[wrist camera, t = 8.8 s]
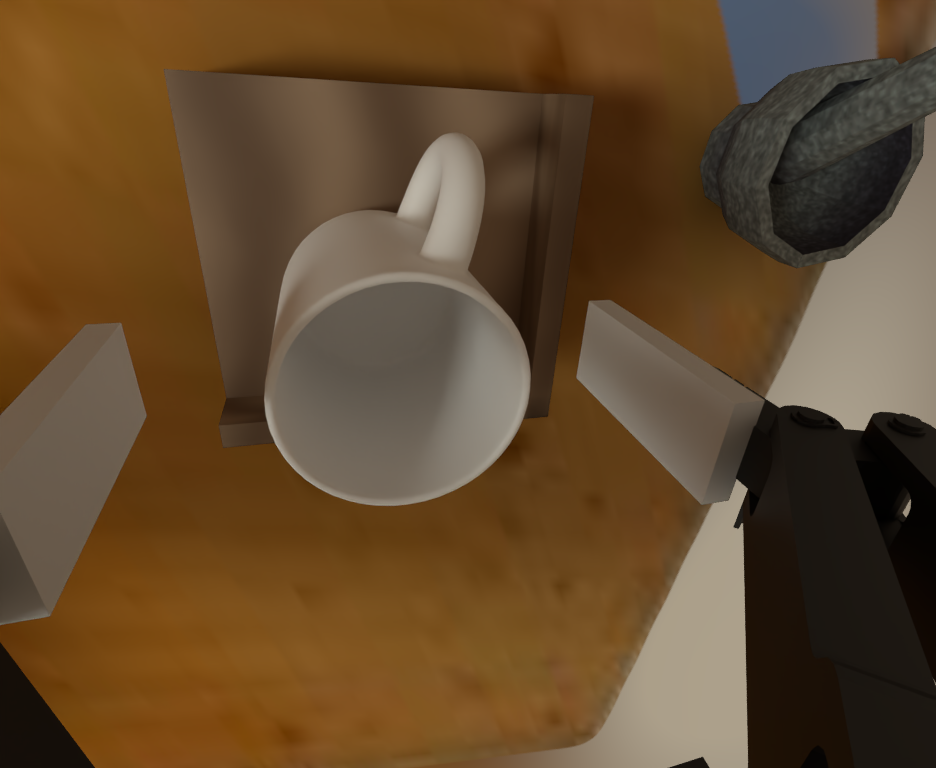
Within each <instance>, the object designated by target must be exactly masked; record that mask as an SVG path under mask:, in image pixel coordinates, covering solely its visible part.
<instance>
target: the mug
mask: <svg viewBox="0 0 936 768" xmlns="http://www.w3.org/2000/svg"><path fill="white" fill-rule="evenodd" d="M484 198H485V174H484V166H483V160H482V156H481V153H480V151H479V150H478V148H477V146H476V145H475V143H474V142H473V140H471V139H470V138H469V137H467V136H466V135H464V134H461V133H456V132H453V133H448V134H444V135H442V136H440V137H439V138H438V139H436V140H435V141H434V142H433V143H432V144H431V145H430V146H429V147H428V149H427V150H426V152H425V153H424V155H423V156H422V158H421V160H420V162H419V163H418V165H417V167H416V169H415V172H414V174H413V176H412V178H411V180H410V183H409V185H408V188H407V190H406V193H405V195H404V198H403V200H402V203H401V205H400V208H399V210H398V213H393V212H387V211H380V210H362V211H355V212H350V213H345V214H343V215H340V216H337V217H335V218H332V219H331V220H329V221H327V222H325V223H323V224H322V225H320V226H319V227H318V228H316V229H315V230H313V231H312V232H311V233H310V234H309V235H308V236H307V237H306V238H305V239H304V240H303V241H302V242H301V244H300V245H299V246H298V248H297V249H296V250H295V252H294V254H293V255H292V257H291V259H290V261H289V263H288V266H287V268H286V271H285V274H284V277H283V281H282V286H281V291H280V297H279V303H278V309H277V315H276V321H275V327H274V333H273V339H272V345H271V351H270V357H269V363H268V369H267V375H266V381H265V393H264V403H265V414H266V419H267V422H268V426H269V430H270V433H271V435H272V437H273V439H274V442H275V444H276V446H277V447H278V449H279V450H280V452H281V453H282V455H283V457H284V458H285V459H286V461H287V462H288V463H289V464H290V465H291V466H292V467H293V469H294V470H295V471H296V472H297V473H299V474H300V475H301V476H302V477H303V478H304V479H305V480H307V481H308V482H310V483H311V484H313V485H314V486H316V487H317V488H319V489H321V490H323V491H325V492H327V493H329V494H331V495H333V496H336V497H339V498H342V499H344V500H347V501H352V502H356V503H360V504H367V505H376V506H397V505H407V504H413V503H418V502H423V501H427V500H430V499H434V498H437V497H440V496H442V495H445V494H447V493H449V492H452V491H454V490H456V489H458V488H460V487H462V486H463V485H465V484H467V483H469V482H470V481H472V480H473V479H475V478H476V477H477V476H479V475H480V474H481V473H483V472H484V471H485V470H486V469H487V468H489V467H490V466H491V465H492V464H493V463H494V462H495V461H496V460H497V459H498V458H499V457H500V456H501V454H502V453H503V452H504V451H505V449H506V448H507V447H508V445H509V444H510V443H511V441H512V439H513V438H514V436H515V435H516V433H517V431H518V429H519V427H520V425H521V422H522V420H523V418H524V415H525V412H526V408H527V405H528V400H529V394H530V380H531V373H530V364H529V358H528V354H527V350H526V347H525V344H524V342H523V339H522V337H521V335H520V332H519V331H518V329H517V327H516V326H515V324H514V323H513V321H512V319H511V318H510V317H509V316H508V315H507V314H506V312H505V311H504V310H503V309H502V308H501V307H500V306H499V305H498V304H497V302H496V301H495V300H494V299H493V298H492V297H491V296H490V294H489V293H488V292H487V291H486V290H485V289H484V288H483V287H482V286H481V285H480V283H479V282H478V281H477V280H476V279H475V278H474V276H473V275H472V274H471V273H470V272H469V271H468V267H469V264H470V261H471V258H472V255H473V252H474V248H475V245H476V241H477V237H478V233H479V229H480V224H481V220H482V214H483V208H484Z"/></svg>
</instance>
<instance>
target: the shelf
mask: <svg viewBox="0 0 936 768" xmlns="http://www.w3.org/2000/svg"><path fill="white" fill-rule="evenodd" d="M164 73H165V79H166V84H167V89H168V94H169V100H170V105H171V110H172V115H173V120H174V126H175V131H176V136H177V141H178V147H179V152H180V157H181V162H182V168H183V173H184V178H185V183H186V189H187V194H188V199H189V204H190V209H191V215H192V220H193V225H194V230H195V236H196V241H197V246H198V251H199V257H200V262H201V267H202V272H203V277H204V283H205V288H206V293H207V298H208V304H209V309H210V314H211V319H212V325H213V330H214V335H215V340H216V346H217V351H218V356H219V361H220V366H221V372H222V377H223V382H224V387H225V393H226V398H227V399H226V402H225V406H224V409H223V413H222V416H221V420H220V423H219V429H220V434H221V439H222V444H223V448H226V447H237V446H247V445H257V444H268V443H275V442H274V439H273V437H272V435H271V433H270V430H269V426H268V422H267V419H266V414H265V403H264V393H265V381H266V375H267V369H268V363H269V357H270V351H271V345H272V339H273V333H274V327H275V321H276V315H277V309H278V303H279V297H280V291H281V286H282V281H283V277H284V274H285V271H286V268H287V266H288V263H289V261H290V259H291V257H292V255H293V254H294V252H295V250H296V249H297V248H298V246H299V245H300V244H301V242H302V241H303V240H304V239H305V238H306V237H307V236H308V235H309V234H310V233H311V232H312V231H313V230H315V229H316V228H318V227H319V226H320V225H322V224H323V223H325V222H327V221H329V220H331V219H332V218H335V217H337V216H340V215H343V214H345V213H350V212H355V211H362V210H380V211H387V212H393V213H398V210H399V208H400V205H401V203H402V200H403V198H404V195H405V193H406V190H407V188H408V185H409V183H410V180H411V178H412V176H413V174H414V172H415V169H416V167H417V165H418V163H419V162H420V160H421V158H422V156H423V155H424V153H425V152H426V150H427V149H428V147H429V146H430V145H431V144H432V143H433V142H434V141H435V140H436V139H438V138H439V137H440V136H442V135H444V134H448V133H453V132H456V133H461V134H464V135H466V136H467V137H469V138H470V139H471V140H473V142H474V143H475V145H476V146H477V148H478V150H479V151H480V153H481V156H482V160H483V166H484V174H485V198H484V208H483V214H482V220H481V224H480V229H479V233H478V237H477V241H476V245H475V248H474V252H473V255H472V258H471V261H470V264H469V267H468V271H469V272H470V273H471V274H472V275H473V276H474V278H475V279H476V280H477V281H478V282H479V283H480V285H481V286H482V287H483V288H484V289H485V290H486V291H487V292H488V293H489V294H490V296H491V297H492V298H493V299H494V300H495V301H496V302H497V304H498V305H499V306H500V307H501V308H502V309H503V310H504V311H505V312H506V314H507V315H508V316H509V317H510V318H511V319H512V321H513V323H514V324H515V326H516V327H517V329H518V331H519V332H520V335H521V337H522V339H523V342H524V344H525V347H526V350H527V354H528V358H529V364H530V373H531V380H530V394H529V400H528V405H527V408H526V412H525V415H524V418H523V419H527V418H537V417H548V411H549V404H550V397H551V390H552V384H553V377H554V370H555V363H556V356H557V349H558V342H559V335H560V328H561V321H562V314H563V307H564V300H565V294H566V287H567V280H568V273H569V266H570V259H571V252H572V245H573V238H574V231H575V224H576V217H577V210H578V204H579V197H580V190H581V183H582V176H583V169H584V162H585V155H586V148H587V141H588V134H589V127H590V120H591V114H592V107H593V100H594V96H591V95H576V94H535V93H520V92H505V91H489V90H474V89H459V88H444V87H428V86H413V85H398V84H382V83H367V82H352V81H337V80H321V79H306V78H291V77H276V76H260V75H245V74H230V73H215V72H199V71H184V70H169V69H164Z"/></svg>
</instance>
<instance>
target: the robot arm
mask: <svg viewBox="0 0 936 768" xmlns="http://www.w3.org/2000/svg"><path fill="white" fill-rule="evenodd" d="M576 378H577V379H578V380H579V381H580V382H581V383H582V384H583V385H584V386H585V387H586V388H587V389H588V390H589V391H590V392H591V393H592V394H593V395H594V396H595V397H596V398H597V399H598V400H599V401H600V402H601V403H602V404H603V405H604V406H605V407H606V408H607V409H608V410H609V412H610V413H611V414H612V415H613V416H614V417H615V418H616V419H617V420H618V421H619V422H620V423H621V424H622V425H623V426H624V427H625V428H626V429H627V430H628V431H629V432H630V433H631V434H632V435H633V436H634V437H635V438H636V439H637V440H638V441H639V442H640V443H641V444H642V445H643V446H644V447H645V448H646V449H647V450H648V451H649V452H650V453H651V454H652V455H653V456H654V457H655V458H656V459H657V460H658V461H659V462H660V463H661V464H662V465H663V466H664V467H665V468H666V469H667V470H668V471H669V472H670V473H671V474H672V475H673V476H674V477H675V478H676V479H677V480H678V481H679V482H680V483H681V484H682V485H683V487H684V488H685V489H686V490H687V491H688V492H689V493H690V494H691V495H692V496H693V497H694V498H695V499H696V500H697V501H698V502H699V503H700V504H701V505H704V504H710V503H716V502H722V501H728V500H729V498H730V495H731V493H732V490H733V487H734V484H735V482H736V479H738V480H739V481H740V482H741V483H742V484H743V485H744V486H746V487H747V488H748V490H747V493H746V496H745V498H744V501H743V504H742V506H741V509H740V511H739V514H738V517H737V519H736V522H735V525H734V527H735V528H739V527H740V525H741V523H743V531H744V578H745V579H744V582H745V630H746V677H747V726H748V768H936V685H935V683H934V680H935V682H936V429H935V428H933V427H932V426H931V425H929V424H926V423H924V422H922V421H921V420H920V419H918V418H916V417H913V416H909V415H906V414H896V413H890V412H879V413H875V414H873V415H872V417H871V419H870V421H869V423H868V425H867V427H866V429H865V431H860V430H848V429H844V428H843V426H842V425H841V424H840V422H839V421H837V420H836V419H835V418H833V417H831V416H829V415H827V414H825V413H823V412H820V411H818V410H814V409H811V408H808V407H801V406H794V405H792V406H783V407H781V408H779V407H777V406H776V405H774V404H772V403H771V402H769V401H768V400H766V399H765V398H763V397H762V396H760V395H759V394H757V393H755V392H754V391H752V390H751V389H749V388H748V387H744V385H743V384H742V383H740V382H738V381H737V380H733V379H732V377H731V376H729V375H728V374H726V373H725V372H723V371H721V370H720V369H718V368H716V367H713V366H711V365H710V364H708V363H707V362H705V361H704V360H702V359H701V358H699V357H697V356H696V355H694V354H693V353H691V352H690V351H688V350H687V349H685V348H684V347H682V346H681V345H679V344H677V343H676V342H674V341H673V340H671V339H670V338H668V337H667V336H665V335H664V334H662V333H661V332H659V331H657V330H656V329H654V328H653V327H651V326H650V325H648V324H647V323H645V322H644V321H642V320H641V319H639V318H637V317H636V316H634V315H633V314H631V313H630V312H628V311H627V310H625V309H624V308H622V307H621V306H619V305H617V304H616V303H614V302H613V301H611V300H598V301H589V304H588V310H587V316H586V322H585V328H584V334H583V340H582V347H581V353H580V359H579V365H578V371H577V377H576ZM146 417H147V415H146V411H145V408H144V404H143V401H142V397H141V393H140V390H139V386H138V383H137V379H136V375H135V372H134V368H133V364H132V361H131V357H130V354H129V350H128V346H127V343H126V339H125V335H124V332H123V328H122V325H121V323H108V324H87V325H85V326H84V327H83V328H82V329H81V330H80V331H79V333H78V334H77V335H76V336H75V337H74V338H73V339H72V340H71V341H70V342H69V343H68V344H67V345H66V346H65V347H64V348H63V349H62V350H61V352H60V353H59V354H58V355H57V356H56V357H55V358H54V359H53V360H52V361H51V362H50V363H49V364H48V365H47V366H46V367H45V368H44V369H43V371H42V372H41V373H40V374H39V375H38V376H37V377H36V378H35V379H34V380H33V381H32V382H31V383H30V384H29V385H28V386H27V387H26V388H25V390H24V391H23V392H22V393H21V394H20V395H19V396H18V397H17V398H16V399H15V400H14V401H13V402H12V403H11V404H10V405H9V406H8V407H7V409H6V410H5V411H4V412H3V413H2V414H1V415H0V625H3V624H8V623H14V622H20V621H26V620H32V619H38V618H43V617H49V616H50V615H51V613H52V611H53V609H54V607H55V605H56V603H57V601H58V599H59V597H60V595H61V592H62V590H63V588H64V586H65V584H66V582H67V580H68V578H69V576H70V574H71V572H72V570H73V568H74V566H75V564H76V561H77V559H78V557H79V555H80V553H81V551H82V549H83V547H84V545H85V543H86V541H87V539H88V537H89V535H90V533H91V530H92V528H93V526H94V524H95V522H96V520H97V518H98V516H99V514H100V512H101V510H102V508H103V506H104V504H105V502H106V499H107V497H108V495H109V493H110V491H111V489H112V487H113V485H114V483H115V481H116V479H117V477H118V475H119V473H120V471H121V468H122V466H123V464H124V462H125V460H126V458H127V456H128V454H129V452H130V450H131V448H132V446H133V444H134V442H135V439H136V437H137V435H138V433H139V431H140V429H141V427H142V425H143V423H144V421H145V419H146ZM910 499H911V509H910V511H909V514H908V516H907V518H906V517H905V516H904V514H903V511H904V509H905V508H906V506H907V504H908V502H909V500H910ZM933 679H934V680H933ZM0 768H95V767H94V766H93V764H92V763H91V762H90V761H89V759H88V758H87V757H86V755H85V754H84V753H83V751H82V750H81V749H80V747H79V746H78V745H77V743H76V742H75V741H74V739H73V738H72V737H71V735H70V734H69V733H68V731H67V730H66V729H65V727H64V726H63V725H62V723H61V722H60V721H59V720H58V718H57V717H56V716H55V714H54V713H53V712H52V710H51V709H50V708H49V706H48V705H47V704H46V702H45V701H44V700H43V698H42V697H41V696H40V694H39V693H38V692H37V690H36V689H35V688H34V686H33V685H32V684H31V683H30V681H29V680H28V679H27V677H26V676H25V675H24V673H23V672H22V671H21V669H20V668H19V667H18V665H17V664H16V663H15V661H14V660H13V659H12V657H11V656H10V655H9V653H8V652H7V651H6V649H5V648H4V647H3V645H2V644H1V643H0ZM670 768H709V766H708V765H707V763H706V761H705V760H704V758H703V757H701V758H698V759H694V760H692V761H688V762H685V763H682V764H679V765H676V766H673V767H670Z"/></svg>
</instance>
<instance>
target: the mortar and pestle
mask: <svg viewBox="0 0 936 768" xmlns="http://www.w3.org/2000/svg"><path fill="white" fill-rule="evenodd" d="M935 111H936V47H935V48H933V49H931V50H929V51H927V52H924V53H922V54H920V55H918V56H916V57H914V58H912V59H910V60H908V61H906V62H904V63H902V64H899V63H898V62H897V60H896V59H895V58H884V59H872V60H871V59H870V60H862V61H856V62H850V63H843V64H837V65H831V66H825V67H818V68H813V69H809V70H805V71H801V72H797V73H794V74H790V75H788V76H787V77H786V78H785V79H783V80H782V81H781V82H779V83H778V84H777V85H776V86H774V87H773V88H772V89H771V90H770V91H769V92H768V93H766V94H765V95H764V97H762V98H761V100H759V101H758V102H756V103H750V104H743V105H738V106H737V107H736V108H735V109H734V110H733V111H732V112H731V113H730V114H729V115H728V116H727V117H726V118H725V119H724V120H723V121H722V122H721V123H720V124H719V125H718V126H717V127H716V128H715V129H714V130H713V131H712V132H711V135H710V138H709V141H708V144H707V147H706V149H705V152H704V155H703V158H702V161H701V164H700V171H701V176H702V182H703V187H704V193H705V196H706V197H707V198H708V199H710V200H711V201H713V202H714V203H715V204H717V205H718V206H720V207H721V208H722V214H723V216H724V219H725V221H726V223H727V225H728V227H729V229H730V230H732V231H733V232H735V233H736V234H738V235H739V236H740V237H742V238H743V239H745V240H746V241H748V242H749V243H750V244H752V245H753V246H755V247H756V248H758V249H759V250H761V251H762V252H764V253H765V254H767V255H769V256H770V257H772V258H773V259H775V260H777V261H778V262H781V263H784V264H787V265H789V266H792V267H795V268H800V267H804V266H809V265H813V264H818V263H822V262H826V261H831V260H835V259H840V258H844V257H846V256H847V255H848V254H849V253H850V252H851V251H852V250H854V248H856V247H857V246H858V245H859V244H860V243H861V242H863V241H864V240H865V239H866V238H867V237H868V236H869V235H871V234H872V233H873V232H874V231H875V230H876V229H877V228H879V227H880V226H881V225H882V224H883V223H884V222H885V221H886V220H888V219H889V218H890V217H891V216H892V214H893V212H894V210H895V208H896V206H897V204H898V203H899V201H900V199H901V196H902V195H903V193H904V191H905V189H906V187H907V185H908V183H909V181H910V179H911V178H912V176H913V174H914V172H915V170H916V168H917V166H918V164H919V162H920V160H921V158H922V156H923V142H924V122H925V116H927V115H929V114H931V113H933V112H935Z"/></svg>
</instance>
